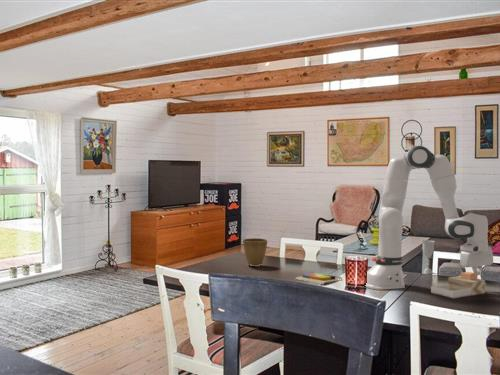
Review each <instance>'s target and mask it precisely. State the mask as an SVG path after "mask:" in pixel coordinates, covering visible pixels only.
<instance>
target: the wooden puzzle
mask: <svg viewBox="0 0 500 375" xmlns="http://www.w3.org/2000/svg"><path fill="white" fill-rule="evenodd" d="M296 279H298V280H304V281H309V282H312V283H316V284H315V285H318V284H322V285H321V286H324V285H325V284H329V283H335V282H334V281H337V282H339V281H338V279H339V280H340V279H342V280H343V278H342V276H340V275H334V274H329V273H328V274H326V273H321V272H320V273H319V272H315V273H314V272H313V273H303V274H302V276H297V277H296V278H295V280H296ZM340 281H341V280H340ZM318 286H319V285H318Z"/></svg>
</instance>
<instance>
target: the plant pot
mask: <svg viewBox="0 0 500 375" xmlns="http://www.w3.org/2000/svg"><path fill="white" fill-rule="evenodd" d="M242 246H243V251H244V254H245V258H246V261H247V264H252V265H259V264H262V265H263V262H264V258H265V255H266V250H267V246H268V239H266V238H255V237H252V238H244V239H242Z"/></svg>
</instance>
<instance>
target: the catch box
mask: <svg viewBox="0 0 500 375" xmlns="http://www.w3.org/2000/svg"><path fill="white" fill-rule="evenodd" d="M430 293H431V294H434V295H438V296H442V297H444V298H445V297H446V298H450V299H453V300H454V299H459V298H463V297H464V298H465V297H471V296H472V295H471V289H463V290H457V291H454V290H450V284H448V283H446V284H445V283H444V284H439V285H438V284H437V285H431V286H430Z"/></svg>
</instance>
